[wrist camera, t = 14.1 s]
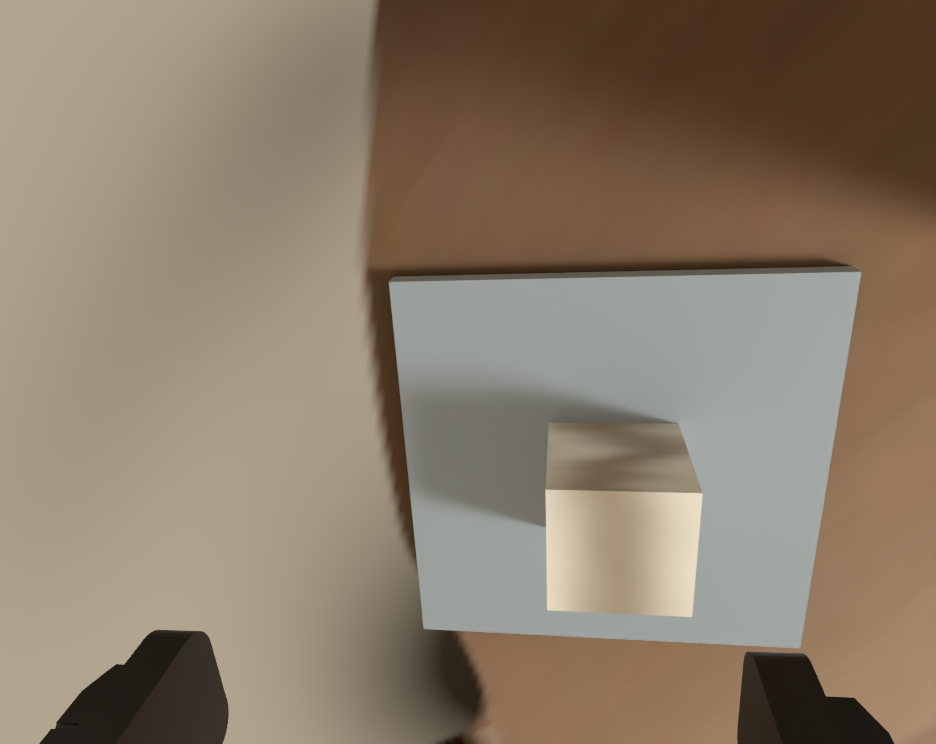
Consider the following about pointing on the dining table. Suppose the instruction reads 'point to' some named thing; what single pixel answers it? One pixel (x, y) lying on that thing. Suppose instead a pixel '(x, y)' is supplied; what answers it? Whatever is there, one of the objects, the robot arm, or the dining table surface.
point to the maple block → (621, 519)
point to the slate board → (621, 401)
